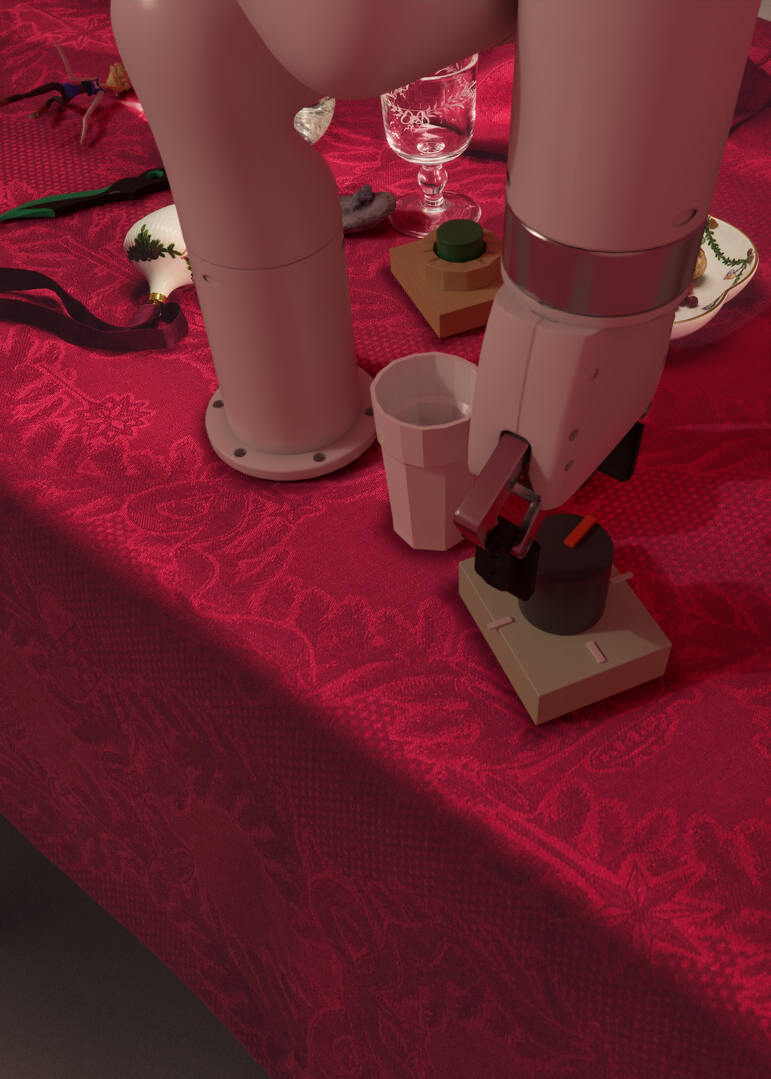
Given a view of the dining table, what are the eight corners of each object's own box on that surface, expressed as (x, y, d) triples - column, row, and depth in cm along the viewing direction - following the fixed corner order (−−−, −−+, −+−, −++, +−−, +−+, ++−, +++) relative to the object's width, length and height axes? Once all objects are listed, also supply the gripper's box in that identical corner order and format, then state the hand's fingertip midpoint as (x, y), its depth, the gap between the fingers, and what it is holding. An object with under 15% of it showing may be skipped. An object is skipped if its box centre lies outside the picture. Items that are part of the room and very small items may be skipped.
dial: (574, 650, 53) (583, 594, 49) (500, 607, 55) (503, 550, 52) (621, 593, 55) (632, 535, 52) (548, 554, 58) (554, 496, 54)
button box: (390, 271, 82) (388, 228, 79) (478, 246, 84) (478, 203, 81) (439, 338, 76) (438, 295, 73) (533, 310, 78) (536, 266, 75)
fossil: (292, 210, 85) (311, 174, 88) (304, 243, 88) (322, 208, 90) (383, 208, 82) (399, 171, 85) (393, 242, 85) (408, 205, 87)
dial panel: (450, 596, 60) (450, 562, 58) (583, 548, 62) (587, 514, 59) (527, 729, 54) (530, 698, 51) (672, 672, 55) (681, 639, 53)
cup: (362, 537, 63) (347, 406, 55) (414, 471, 67) (407, 339, 59) (454, 575, 61) (453, 444, 53) (502, 505, 65) (508, 372, 56)
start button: (429, 245, 78) (428, 225, 77) (470, 233, 79) (471, 213, 78) (448, 269, 76) (448, 249, 75) (490, 256, 77) (491, 236, 75)
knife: (227, 145, 97) (238, 169, 94) (228, 153, 97) (239, 177, 94) (-16, 197, 93) (-13, 224, 90) (-13, 205, 93) (-10, 231, 90)
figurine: (171, 16, 101) (6, 71, 90) (185, 103, 107) (31, 165, 96) (106, -1, 106) (-59, 49, 95) (122, 83, 112) (-31, 140, 101)
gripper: (625, 116, 44) (580, 402, 57) (385, 317, 36) (397, 597, 49) (787, 168, 41) (699, 457, 54) (565, 401, 33) (526, 676, 46)
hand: (556, 523), depth 52 cm, fingers open, 9 cm apart
